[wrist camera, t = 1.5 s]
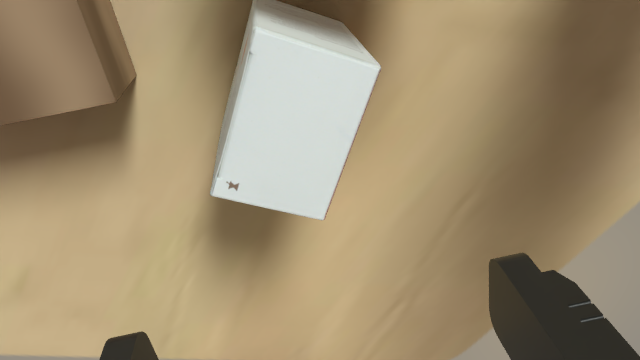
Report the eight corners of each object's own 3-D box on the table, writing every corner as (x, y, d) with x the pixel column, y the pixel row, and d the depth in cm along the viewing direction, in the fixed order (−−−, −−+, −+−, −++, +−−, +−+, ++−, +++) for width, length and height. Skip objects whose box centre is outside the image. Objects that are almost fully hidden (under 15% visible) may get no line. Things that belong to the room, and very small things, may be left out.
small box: (305, 140, 33) (324, 226, 24) (221, 118, 32) (207, 201, 22) (345, 20, 30) (386, 67, 20) (254, -10, 28) (253, 25, 19)
